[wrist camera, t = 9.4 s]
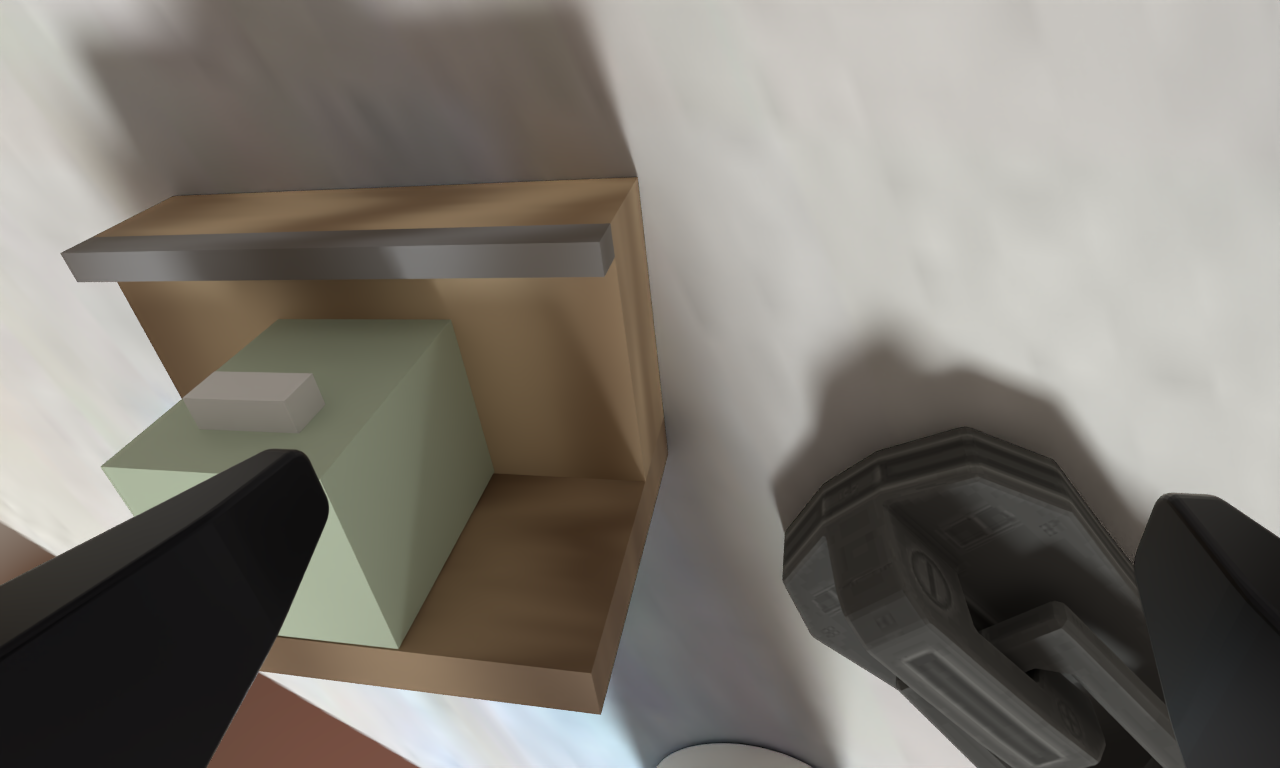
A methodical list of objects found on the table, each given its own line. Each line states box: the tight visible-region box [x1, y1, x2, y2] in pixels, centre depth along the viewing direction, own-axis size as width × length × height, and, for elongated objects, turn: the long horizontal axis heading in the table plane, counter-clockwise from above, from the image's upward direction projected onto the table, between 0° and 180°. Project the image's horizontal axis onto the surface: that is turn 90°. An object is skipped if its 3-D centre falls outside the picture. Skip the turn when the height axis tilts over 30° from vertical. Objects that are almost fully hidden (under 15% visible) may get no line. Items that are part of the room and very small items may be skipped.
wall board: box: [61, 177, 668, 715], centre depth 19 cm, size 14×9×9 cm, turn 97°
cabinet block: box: [101, 319, 494, 649], centre depth 18 cm, size 5×6×6 cm
